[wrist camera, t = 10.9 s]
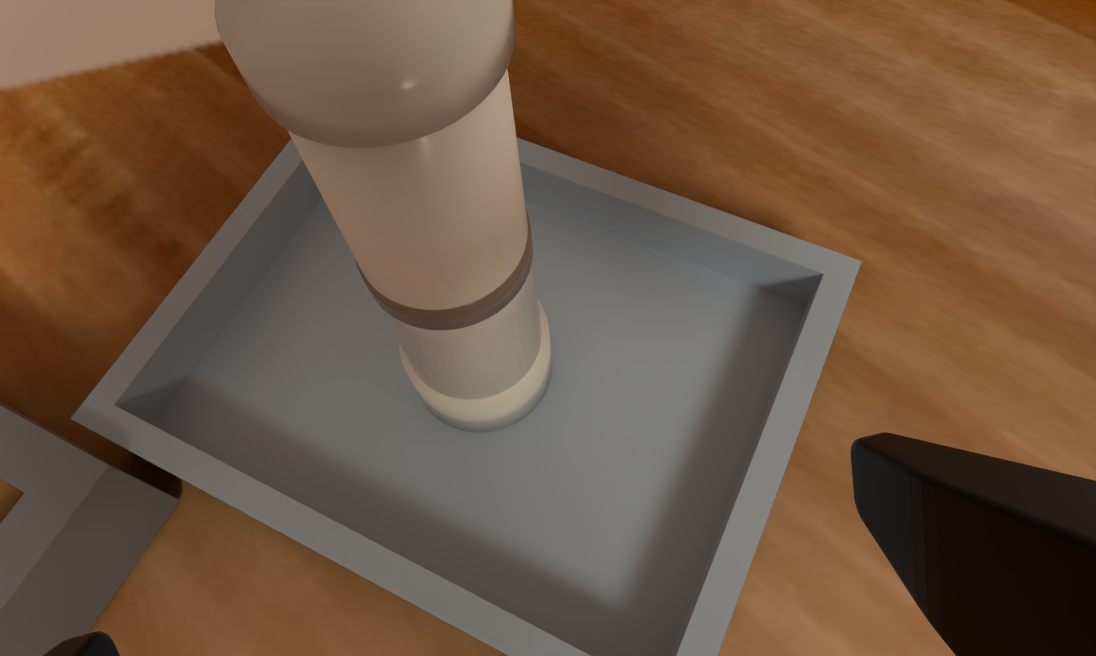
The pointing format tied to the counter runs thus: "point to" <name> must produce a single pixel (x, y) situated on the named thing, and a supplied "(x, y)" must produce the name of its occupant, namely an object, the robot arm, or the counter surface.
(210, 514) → the counter surface
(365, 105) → the beige banded cylinder
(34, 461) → the holder
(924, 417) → the counter surface
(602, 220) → the parts tray
